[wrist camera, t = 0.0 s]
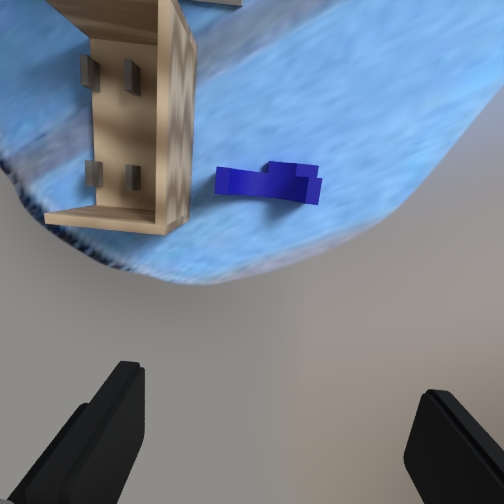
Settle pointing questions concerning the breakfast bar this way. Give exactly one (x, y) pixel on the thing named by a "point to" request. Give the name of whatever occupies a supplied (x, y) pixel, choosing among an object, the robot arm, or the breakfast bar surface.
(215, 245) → the breakfast bar surface
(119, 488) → the robot arm
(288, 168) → the cable clip
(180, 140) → the cabinet
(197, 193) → the breakfast bar surface
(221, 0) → the door stand
